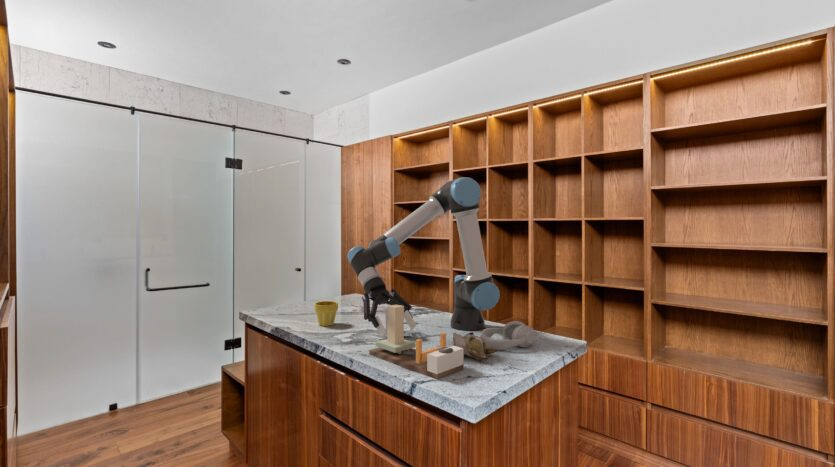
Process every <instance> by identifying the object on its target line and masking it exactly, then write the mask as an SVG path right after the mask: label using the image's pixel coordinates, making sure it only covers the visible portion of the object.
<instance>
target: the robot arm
mask: <svg viewBox="0 0 835 467" xmlns="http://www.w3.org/2000/svg"><path fill="white" fill-rule="evenodd" d="M428 198H429V199H428V200H427V201H426V202H424V203H423V204H422V205H420V206H419V207H418V208H416V209H415V210H414V211H413V212H411V213H410V214H409V215H407V216H406V217H405V218H403V219H402V220H400V221H399V222H397V224H395V225H394V226H393V227H391V228H390V229H388V230H387V231H386V232H384V233H383V234H382V235H381V236H379V237H378V238H377V239H373V240H372V241H370V242H369V245H368V247H367V248H365V247H364V246H362V245H358V246H357V245H356V246H354V247H352V248H351V249H349V251H348V253H347V254H346V255H347V260H348V262H349V264H350V266H351V268H352V270H353V272H354V273H355V275H356V277H357V279H358V281H359V283H360V284H361V286H362V288H363V290H364V291H365V293H363V295H362V297H361V300H362V302H363V319H364V320H365V321H367V320H368V321H367V322H368V323H372V326H373V328H375V329H376V330H377V332H378V334H379V336H380V337H381V338H383V337H384V336H386V327H385V326H384V325H383V322H382V320H381V319H380V317H379V315H376V314H377V310H378V307H379V306H381V305H387V306H389V305H395V304H397V305H402V306H404V321H406V323H407V325H408V327H409V328H410V330H411V331H413V330H414V329H415V328H416V326H417V323H416V321H415V320H414V318H413V317H414V316H413V315H412V313H411V312H410V311H411V309H412V308H413V306H412V305H411V304H410V303H409V302H407V300H405V299H404V298H403V297H402V296H401V295H400V294H398V293H397V291H396V290H395V289H394V288H392V289H391V290H388V289H387V286H386V284H385V281H384V280H383V278H382V277H381V275H380V273H379V271H378V269H377V268H376V267H377V266H379V265H381V264H383V263H385V262H387V261H390V260H391V259H395V257H398V255H401V247H400V246H401V244H402V243H403V242H405V241H406V240H407V239H408V238H410V237H411V236H413V235H414V234H416V233H417V232H418V231H419V230H421V229H422V228H423V227H425V226H426V225H427V224H429V223H430V222H431V221H433V220H434V219H435V218H436V217H438V216H439V215H444V214H446V213H447V212H448V211H450V214H451V216H454V217H455V220H456V227H457V231H458V236H459V242H460V248H461V253H462V257H463V258H462V259H463V262H464V263H463V264H464V268H465V273H466V274H458V275H455V277H454V282H453V284H454V286H453V287H454V289H453V290H454V291H453V293H454V296H453V297H454V298H453V299H454V300H453V301H454V308H453V313H452V314H451V315H452V316H451V317H450V327H451V328H452V329H455V330H460V331H461V330H462V331H478V330H484V328H485V324H486V323H485V322H486V321H485V318H484V315H483V313H482V311H489V310H491V309H493V308H494V307H495V306H496V305H497V303H499V300H500V298H501V296H500V294H501V293H500V289H499V287H498V286H497V285H496V283H494V280H493V276H492V273H491V272H489V271H488V268H487V262H486V258H485V252H484V251H485V250H484V246H483V241H482V237H481V236H482V234H481V229H480V224H479V219H478V212H479V210H480V203H479V202H480V199H481V198H482V190H481V187H480V185H479V183H478V182H477V181H476V180H475V179H473V178H472V177H465V176H463V177H458V178H455V179H453V180H449V181H447V182H445V184H443V185H442V186H441V187H440V188H438V189H437V190H436V191H435V192H433V194H431V195H430V196H429V197H428ZM370 300H371V301H372V305H371V303H370V302H371V301H370Z"/></svg>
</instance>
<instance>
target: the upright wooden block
mask: <svg viewBox="0 0 835 467" xmlns="http://www.w3.org/2000/svg"><path fill="white" fill-rule="evenodd" d="M386 306H387V337H386V338H387V339H386V338H385V339H382V340H378V341H376V342H375V346H376V348H379V347H380V348H382V349H385V350H388V351H391V352H394V353H399V354H401V351H404V350H408V351H409V349H410V348H412V349H415V348H416V341H412V340H408V339H405V336H404V334H405V318H404V310H405V309H404V306H402V305H397V304H395V305H386Z"/></svg>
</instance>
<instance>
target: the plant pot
mask: <svg viewBox="0 0 835 467" xmlns="http://www.w3.org/2000/svg"><path fill="white" fill-rule="evenodd" d="M337 311H339V302H337V301H336V300H335V301H334V300H322V301H317V302H315V303H314V312H315V314H316V318H317V322H318V325H319V326H320V325H322V326H321V327H329V326H328V325H331V326H333V325H334V324H335V320H336V315H337Z"/></svg>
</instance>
